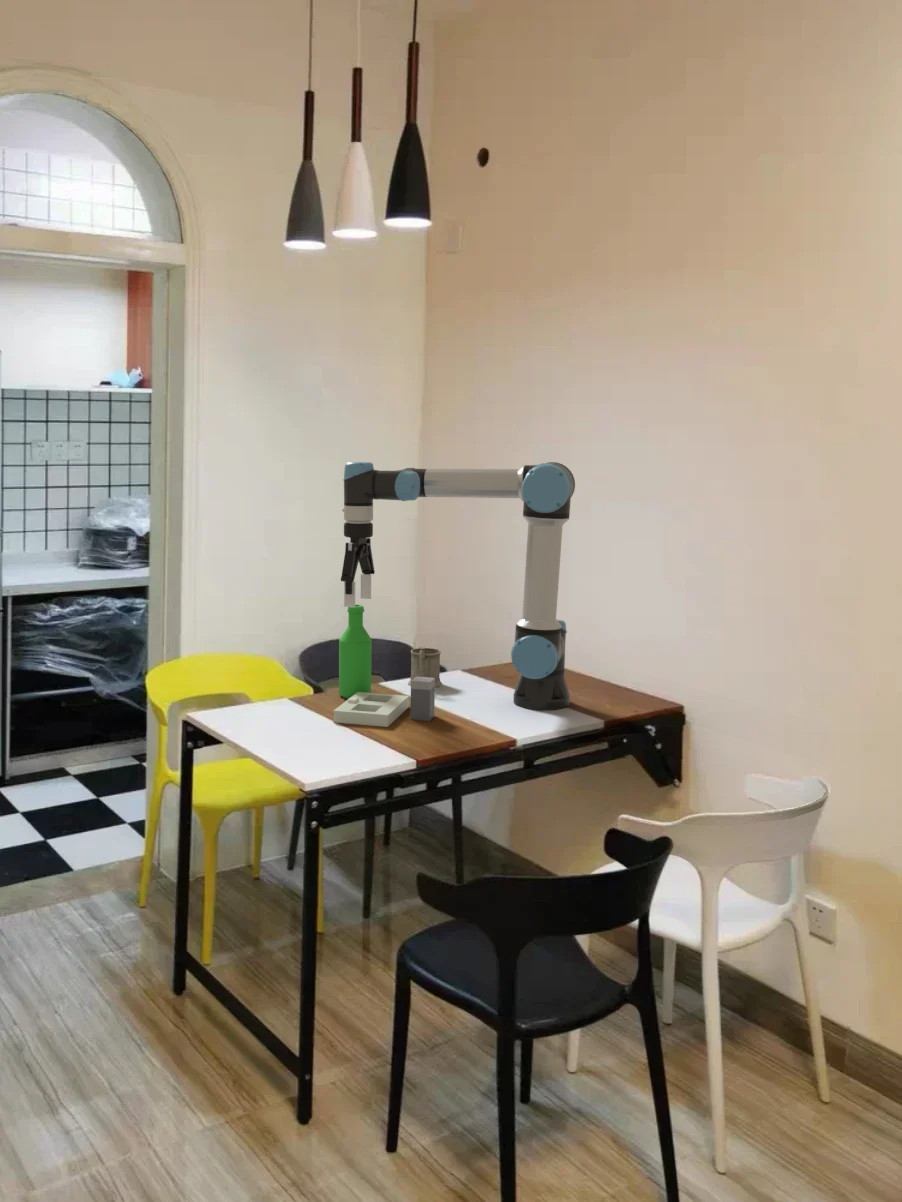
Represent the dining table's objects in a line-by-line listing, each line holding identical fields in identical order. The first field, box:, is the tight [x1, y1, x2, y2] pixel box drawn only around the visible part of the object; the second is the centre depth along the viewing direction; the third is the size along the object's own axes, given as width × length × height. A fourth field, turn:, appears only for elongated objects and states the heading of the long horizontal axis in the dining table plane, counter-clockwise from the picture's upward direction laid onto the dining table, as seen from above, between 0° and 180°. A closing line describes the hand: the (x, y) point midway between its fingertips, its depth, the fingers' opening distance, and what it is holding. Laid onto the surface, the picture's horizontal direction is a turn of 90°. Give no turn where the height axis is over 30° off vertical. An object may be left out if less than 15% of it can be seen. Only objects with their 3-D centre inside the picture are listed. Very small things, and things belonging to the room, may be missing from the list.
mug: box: [407, 646, 443, 689], centre depth 320 cm, size 14×10×12 cm
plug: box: [409, 677, 436, 722], centre depth 287 cm, size 5×5×10 cm
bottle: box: [338, 604, 373, 700], centre depth 306 cm, size 9×9×25 cm
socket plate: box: [333, 692, 410, 728], centre depth 289 cm, size 14×20×4 cm
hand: (358, 602), depth 297 cm, fingers open, 13 cm apart
